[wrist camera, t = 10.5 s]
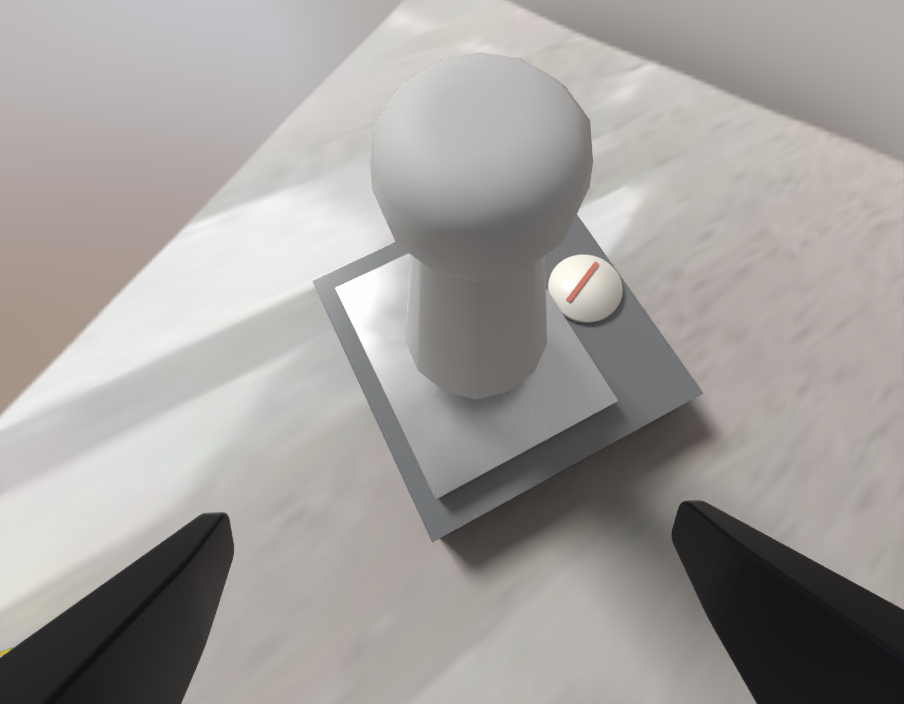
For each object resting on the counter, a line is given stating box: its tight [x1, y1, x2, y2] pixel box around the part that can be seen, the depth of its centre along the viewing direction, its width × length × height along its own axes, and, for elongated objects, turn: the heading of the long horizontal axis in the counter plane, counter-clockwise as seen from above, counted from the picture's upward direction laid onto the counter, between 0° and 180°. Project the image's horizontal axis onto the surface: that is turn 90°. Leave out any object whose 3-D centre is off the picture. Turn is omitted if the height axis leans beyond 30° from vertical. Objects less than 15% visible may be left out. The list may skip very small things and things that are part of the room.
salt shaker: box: [370, 53, 593, 399], centre depth 14 cm, size 6×6×13 cm
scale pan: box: [336, 253, 618, 499], centre depth 20 cm, size 11×9×1 cm
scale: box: [313, 214, 703, 542], centre depth 22 cm, size 14×14×3 cm
